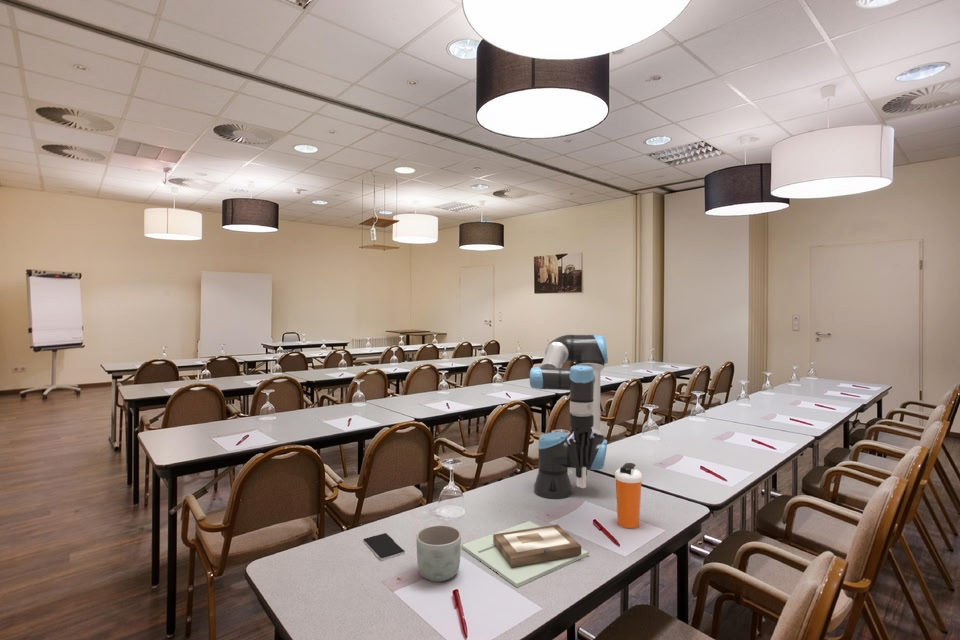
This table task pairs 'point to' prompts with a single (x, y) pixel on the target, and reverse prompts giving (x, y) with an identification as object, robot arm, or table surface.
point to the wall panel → (518, 574)
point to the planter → (438, 552)
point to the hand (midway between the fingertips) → (581, 486)
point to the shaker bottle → (628, 495)
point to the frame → (536, 545)
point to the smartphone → (384, 546)
